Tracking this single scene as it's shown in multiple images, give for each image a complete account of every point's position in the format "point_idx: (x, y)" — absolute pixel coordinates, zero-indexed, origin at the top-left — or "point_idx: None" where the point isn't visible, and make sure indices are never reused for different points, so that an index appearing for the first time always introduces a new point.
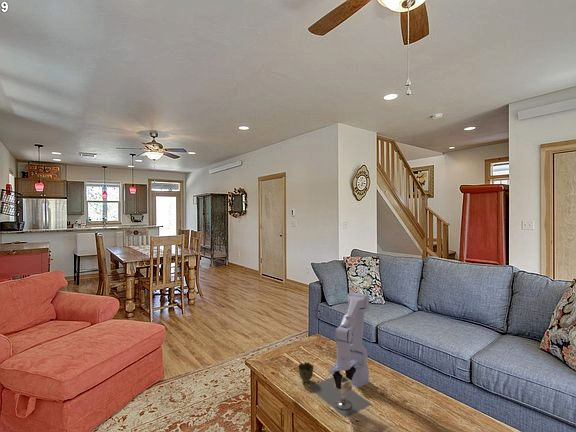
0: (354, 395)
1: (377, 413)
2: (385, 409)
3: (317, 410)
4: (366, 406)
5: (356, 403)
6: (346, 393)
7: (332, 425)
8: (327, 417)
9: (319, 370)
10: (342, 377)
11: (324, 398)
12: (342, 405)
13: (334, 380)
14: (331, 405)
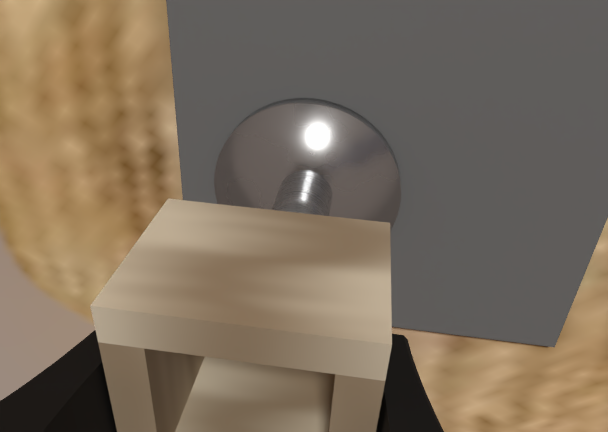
0: (568, 155)
1: (474, 407)
2: (579, 423)
3: (7, 63)
4: (479, 331)
5: (442, 255)
6: (531, 61)
7: (50, 281)
8: (57, 198)
9: None
10: (315, 360)
11: None
12: (271, 209)
13: (110, 290)
14: (182, 115)
